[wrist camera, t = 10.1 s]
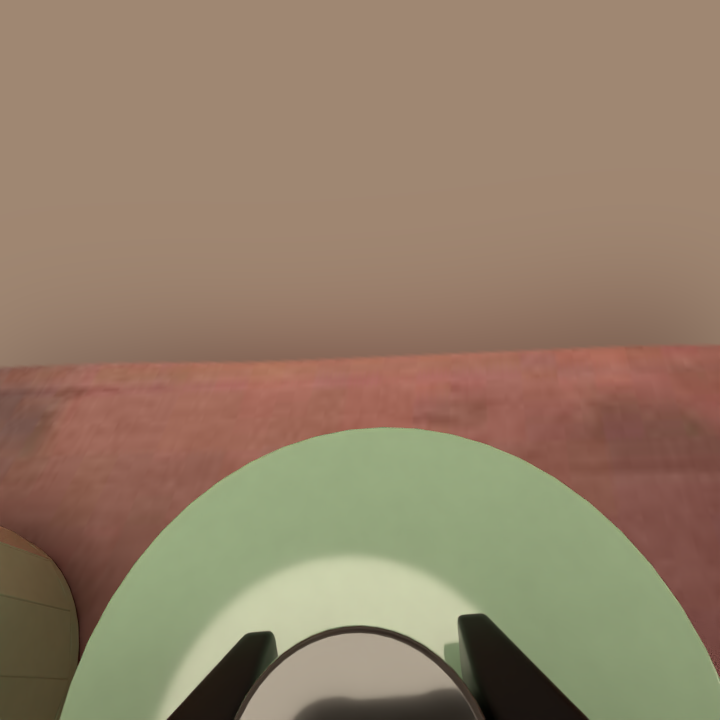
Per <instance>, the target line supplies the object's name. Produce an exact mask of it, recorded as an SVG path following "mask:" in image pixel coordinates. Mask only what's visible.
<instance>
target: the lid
mask: <svg viewBox="0 0 720 720" xmlns="http://www.w3.org/2000/svg"><path fill="white" fill-rule="evenodd" d="M476 613H483V614H485V615H487V616H488V617H489V618H490V619H491V620H492V621H493V622H494V623H495V624H496V625H497V626H498V627H499V628H500V629H501V630H502V631H503V632H504V633H505V634H506V635H507V636H508V637H509V639H510V640H511V641H512V642H513V643H514V644H515V645H516V646H517V647H518V648H519V649H520V650H521V651H522V652H523V653H524V654H525V655H526V656H527V657H528V658H529V659H530V660H531V661H532V662H533V663H534V664H535V665H536V666H537V667H538V668H539V669H540V670H541V671H542V672H543V673H544V674H545V675H546V676H547V677H548V678H549V679H550V680H551V681H552V682H553V683H554V684H555V685H556V686H557V687H558V688H559V689H560V690H561V691H562V692H563V693H564V694H565V695H566V696H567V697H568V698H569V699H570V700H571V701H572V702H573V703H574V704H575V705H576V706H577V707H578V708H579V709H580V710H581V711H582V712H583V713H584V714H585V715H586V716H587V717H588V718H589V719H590V720H720V678H719V676H718V674H717V672H716V669H715V667H714V665H713V663H712V660H711V658H710V656H709V654H708V652H707V649H706V648H705V646H704V644H703V643H702V641H701V639H700V637H699V636H698V634H697V632H696V631H695V629H694V627H693V625H692V624H691V622H690V620H689V618H688V617H687V615H686V613H685V612H684V610H683V608H682V606H681V605H680V603H679V602H678V601H677V599H676V598H675V596H674V595H673V594H672V592H671V591H670V590H669V588H668V587H667V585H666V584H665V583H664V581H663V580H662V579H661V577H660V576H659V574H658V573H657V572H656V570H655V569H654V568H653V566H652V565H651V564H650V563H649V562H648V560H647V559H646V558H645V557H644V556H643V555H642V554H641V553H640V552H639V550H638V549H637V548H636V547H635V546H634V545H633V544H632V543H631V542H630V540H629V539H628V538H627V537H626V536H625V535H624V534H623V533H622V532H621V531H620V530H619V529H618V528H617V527H616V526H615V525H614V524H613V523H612V522H610V521H609V520H608V519H607V518H606V517H605V516H604V515H603V514H601V513H600V512H599V511H598V510H597V509H596V508H595V507H594V506H593V505H591V504H590V503H589V502H588V501H587V500H585V499H584V498H582V497H581V496H580V495H578V494H577V493H575V492H574V491H573V490H571V489H570V488H568V487H567V486H566V485H564V484H563V483H562V482H560V481H559V480H557V479H556V478H554V477H553V476H551V475H549V474H547V473H545V472H544V471H542V470H540V469H538V468H537V467H535V466H533V465H531V464H529V463H528V462H526V461H524V460H522V459H520V458H518V457H516V456H513V455H511V454H508V453H506V452H504V451H501V450H499V449H496V448H494V447H492V446H489V445H487V444H484V443H480V442H477V441H473V440H470V439H466V438H463V437H459V436H456V435H452V434H447V433H441V432H434V431H428V430H422V429H413V428H390V427H379V428H366V429H354V430H346V431H341V432H336V433H331V434H326V435H321V436H316V437H312V438H309V439H306V440H303V441H300V442H297V443H294V444H291V445H288V446H285V447H282V448H280V449H278V450H276V451H273V452H271V453H269V454H267V455H265V456H263V457H260V458H258V459H256V460H254V461H252V462H250V463H248V464H247V465H245V466H243V467H242V468H240V469H238V470H237V471H235V472H233V473H232V474H230V475H229V476H227V477H225V478H224V479H222V480H220V481H219V482H218V483H216V484H215V485H214V486H212V487H211V488H210V489H209V490H207V491H206V492H205V493H203V494H202V495H201V496H200V497H198V498H197V499H196V500H194V501H193V502H192V503H191V504H189V505H188V506H187V507H186V508H185V509H184V510H183V511H182V512H181V513H180V514H179V515H178V516H177V517H176V518H175V519H174V520H173V521H172V522H171V523H170V524H169V525H168V526H167V527H166V528H165V529H163V530H162V531H161V533H160V534H159V535H158V536H157V537H156V539H155V540H154V541H153V542H152V543H151V545H150V546H149V547H148V548H147V549H146V551H145V552H144V553H143V554H142V555H141V557H140V558H139V559H138V560H137V561H136V562H135V564H134V565H133V567H132V568H131V570H130V571H129V573H128V574H127V576H126V577H125V579H124V580H123V582H122V583H121V585H120V586H119V588H118V589H117V590H116V592H115V593H114V595H113V596H112V598H111V599H110V601H109V603H108V605H107V607H106V609H105V611H104V612H103V614H102V616H101V618H100V620H99V622H98V624H97V626H96V627H95V629H94V631H93V633H92V635H91V637H90V639H89V641H88V643H87V645H86V648H85V650H84V653H83V655H82V657H81V660H80V662H79V665H78V667H77V670H76V672H75V674H74V677H73V679H72V682H71V684H70V687H69V690H68V693H67V697H66V700H65V703H64V707H63V710H62V713H61V717H60V720H166V719H167V718H168V717H169V716H170V715H171V714H172V713H173V712H174V711H175V710H176V709H177V707H178V706H179V705H180V704H181V703H182V702H183V701H184V700H185V699H186V698H187V697H188V696H189V694H190V693H191V692H192V691H193V690H194V689H195V688H196V687H197V686H198V685H199V684H200V682H201V681H202V680H203V679H204V678H205V677H206V676H207V675H208V674H209V673H210V672H211V670H212V669H213V668H214V667H215V666H216V665H217V664H218V663H219V662H220V661H221V660H222V659H223V657H224V656H225V655H226V654H227V653H228V652H229V651H230V650H231V649H232V648H233V647H234V645H235V644H236V643H237V642H238V641H239V640H240V639H241V638H242V637H243V636H244V635H245V634H247V633H250V632H260V631H271V632H272V633H273V634H274V636H275V640H276V646H277V652H278V657H277V658H276V659H275V660H274V661H273V662H272V663H271V664H270V665H268V667H267V668H266V669H265V670H264V671H263V672H262V674H261V675H260V676H259V677H258V678H257V679H256V681H255V682H254V684H253V685H252V687H251V688H250V690H249V691H248V693H247V694H246V695H245V697H244V699H243V701H242V703H241V705H240V707H239V708H238V710H237V712H236V714H235V717H234V719H233V720H486V718H485V716H484V714H483V712H482V710H481V708H480V706H479V704H478V702H477V701H476V699H475V697H474V696H473V694H472V693H471V691H470V690H469V688H468V687H467V685H466V684H465V682H464V681H463V678H462V671H461V663H460V650H459V637H458V623H457V621H458V617H459V616H460V615H464V614H476Z"/></svg>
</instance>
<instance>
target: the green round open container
mask: <svg viewBox="0 0 720 720" xmlns="http://www.w3.org/2000/svg"><path fill="white" fill-rule="evenodd" d="M78 654H79V628H78V619H77V614H76V608H75V604H74V600H73V597H72V594H71V591H70V588H69V586H68V584H67V582H66V580H65V578H64V576H63V574H62V572H61V571H60V570H59V568H58V567H57V566H56V564H55V563H54V561H53V560H52V559H51V558H50V557H49V556H48V555H47V554H46V553H45V552H44V551H43V550H41V549H40V548H39V547H37V546H36V545H34V544H33V543H31V542H29V541H28V540H26V539H23V538H22V537H20V536H19V535H18V534H17V533H15V532H14V531H11V530H9V529H6V528H4V527H1V526H0V720H60V717H61V713H62V710H63V707H64V703H65V700H66V697H67V693H68V690H69V687H70V684H71V682H72V679H73V677H74V674H75V672H76V670H77V667H78Z"/></svg>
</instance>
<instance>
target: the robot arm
mask: <svg viewBox="0 0 720 720" xmlns="http://www.w3.org/2000/svg"><path fill="white" fill-rule="evenodd" d="M457 623H458V637H459V650H460V663H461V671H462V678H463V681H464V682H465V684H466V685H467V687H468V688H469V690H470V691H471V693H472V694H473V696H474V697H475V699H476V701H477V702H478V704H479V706H480V708H481V710H482V712H483V714H484V716H485V718H486V720H590V719H589V718H588V717H587V716H586V715H585V714H584V713H583V712H582V711H581V710H580V709H579V708H578V707H577V706H576V705H575V704H574V703H573V702H572V701H571V700H570V699H569V698H568V697H567V696H566V695H565V694H564V693H563V692H562V691H561V690H560V689H559V688H558V687H557V686H556V685H555V684H554V683H553V682H552V681H551V680H550V679H549V678H548V677H547V676H546V675H545V674H544V673H543V672H542V671H541V670H540V669H539V668H538V667H537V666H536V665H535V664H534V663H533V662H532V661H531V660H530V659H529V658H528V657H527V656H526V655H525V654H524V653H523V652H522V651H521V650H520V649H519V648H518V647H517V646H516V645H515V644H514V643H513V642H512V641H511V640H510V639H509V637H508V636H507V635H506V634H505V633H504V632H503V631H502V630H501V629H500V628H499V627H498V626H497V625H496V624H495V623H494V622H493V621H492V620H491V619H490V618H489V617H488V616H487V615H485V614H483V613H476V614H464V615H460V616H459V617H458V621H457ZM277 657H278V652H277V646H276V640H275V636H274V634H273V633H272V632H271V631H260V632H250V633H247V634H245V635H244V636H243V637H242V638H241V639H240V640H239V641H238V642H237V643H236V644H235V645H234V647H233V648H232V649H231V650H230V651H229V652H228V653H227V654H226V655H225V656H224V657H223V659H222V660H221V661H220V662H219V663H218V664H217V665H216V666H215V667H214V668H213V669H212V670H211V672H210V673H209V674H208V675H207V676H206V677H205V678H204V679H203V680H202V681H201V682H200V684H199V685H198V686H197V687H196V688H195V689H194V690H193V691H192V692H191V693H190V694H189V696H188V697H187V698H186V699H185V700H184V701H183V702H182V703H181V704H180V705H179V706H178V707H177V709H176V710H175V711H174V712H173V713H172V714H171V715H170V716H169V717H168V718H167V719H166V720H233V719H234V717H235V714H236V712H237V710H238V708H239V707H240V705H241V703H242V701H243V699H244V697H245V695H246V694H247V693H248V691H249V690H250V688H251V687H252V685H253V684H254V682H255V681H256V679H257V678H258V677H259V676H260V675H261V674H262V672H263V671H264V670H265V669H266V668H267V667H268V665H270V664H271V663H272V662H273V661H274V660H275V659H276V658H277Z"/></svg>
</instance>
